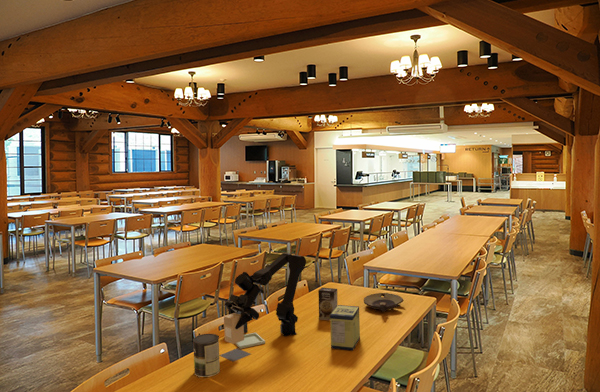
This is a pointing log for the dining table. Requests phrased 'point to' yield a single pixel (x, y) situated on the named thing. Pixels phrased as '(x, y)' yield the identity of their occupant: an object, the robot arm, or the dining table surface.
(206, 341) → the coffee can
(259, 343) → the tray
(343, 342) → the protein box
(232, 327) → the carton
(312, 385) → the dining table surface
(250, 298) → the robot arm
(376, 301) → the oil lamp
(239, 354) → the mat
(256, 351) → the dining table surface
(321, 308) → the coffee box
